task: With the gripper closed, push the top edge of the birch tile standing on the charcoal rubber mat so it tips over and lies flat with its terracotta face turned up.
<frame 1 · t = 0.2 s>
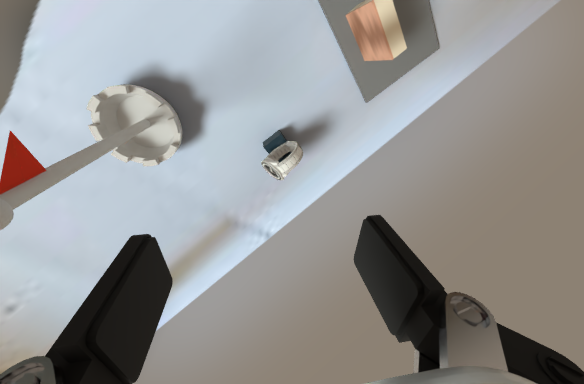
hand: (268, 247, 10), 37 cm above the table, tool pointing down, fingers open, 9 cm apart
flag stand: (149, 122, 39), on the table
watch: (278, 146, 45), on the table
mat: (380, 18, 36), on the table
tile: (361, 34, 37), resting on mat
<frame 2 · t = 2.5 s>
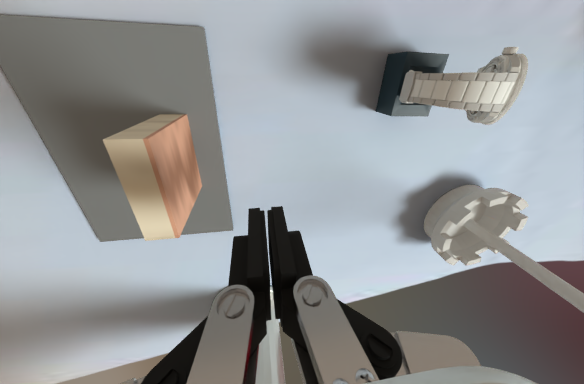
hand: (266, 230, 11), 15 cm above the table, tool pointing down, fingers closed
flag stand: (453, 212, 35), on the table
watch: (399, 84, 23), on the table
mat: (144, 153, 22), on the table
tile: (182, 153, 22), resting on mat
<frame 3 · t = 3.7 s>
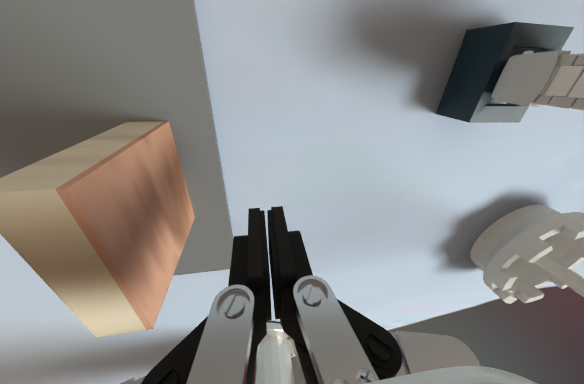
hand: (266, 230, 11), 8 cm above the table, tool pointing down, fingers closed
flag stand: (507, 236, 29), on the table
watch: (473, 76, 16), on the table
mat: (110, 176, 15), on the table
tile: (165, 176, 16), resting on mat
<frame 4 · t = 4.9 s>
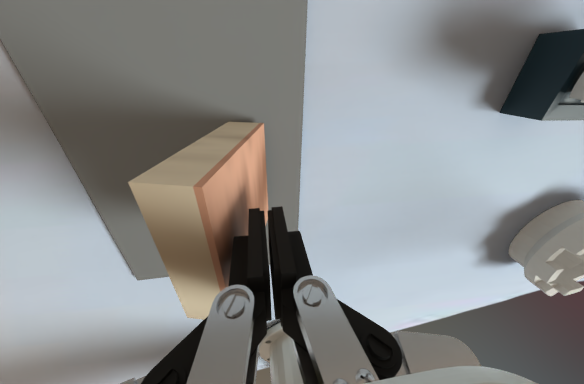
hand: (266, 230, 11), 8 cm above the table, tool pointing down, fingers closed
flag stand: (545, 231, 29), on the table
watch: (537, 76, 17), on the table
mat: (200, 172, 17), on the table
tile: (250, 174, 16), point 1 cm above the table, tilted 15°, touching gripper, mat
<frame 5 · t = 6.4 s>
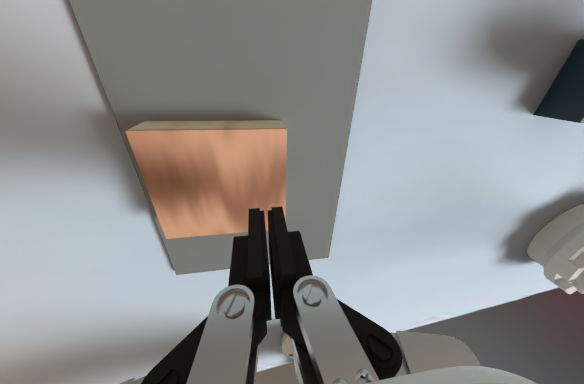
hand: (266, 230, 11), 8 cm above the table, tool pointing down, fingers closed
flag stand: (563, 231, 30), on the table
watch: (572, 80, 18), on the table
mat: (248, 169, 17), on the table
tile: (283, 177, 16), point 2 cm above the table, tilted 90°, touching mat
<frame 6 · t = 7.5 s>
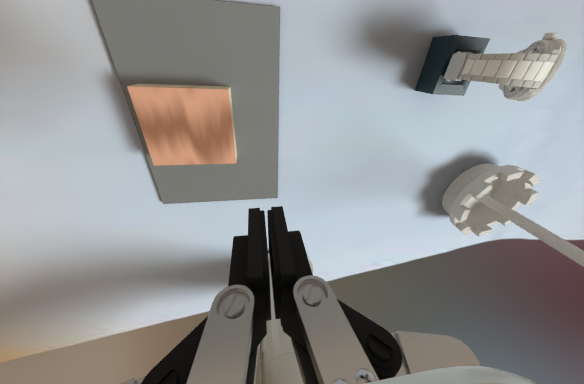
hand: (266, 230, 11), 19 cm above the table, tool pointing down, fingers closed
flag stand: (469, 189, 39), on the table
watch: (438, 66, 26), on the table
mat: (211, 122, 25), on the table
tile: (233, 126, 24), point 2 cm above the table, tilted 90°, touching mat
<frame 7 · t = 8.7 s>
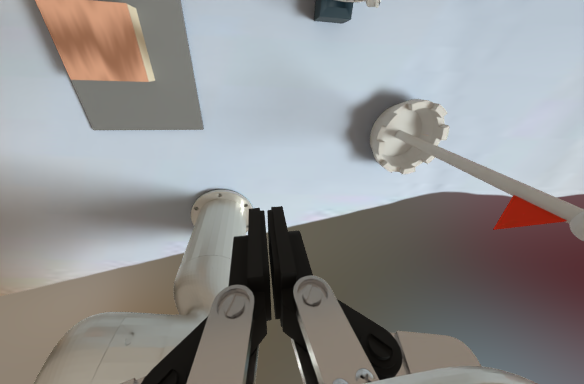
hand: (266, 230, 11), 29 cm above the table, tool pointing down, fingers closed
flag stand: (395, 132, 41), on the table
mat: (126, 46, 28), on the table
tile: (142, 46, 27), point 2 cm above the table, tilted 90°, touching mat
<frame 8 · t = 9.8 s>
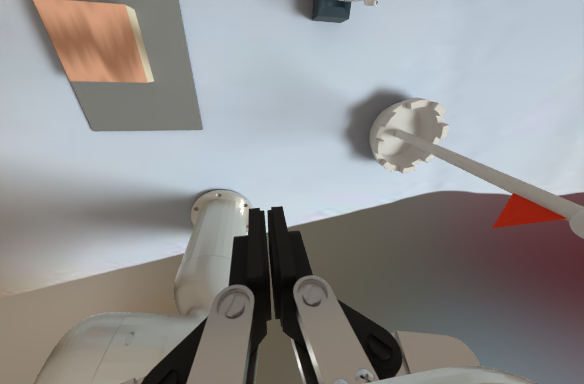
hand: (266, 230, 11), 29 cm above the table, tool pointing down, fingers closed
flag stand: (394, 131, 41), on the table
mat: (125, 47, 28), on the table
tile: (140, 47, 27), point 2 cm above the table, tilted 90°, touching mat
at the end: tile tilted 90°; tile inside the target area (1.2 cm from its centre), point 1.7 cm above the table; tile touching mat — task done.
